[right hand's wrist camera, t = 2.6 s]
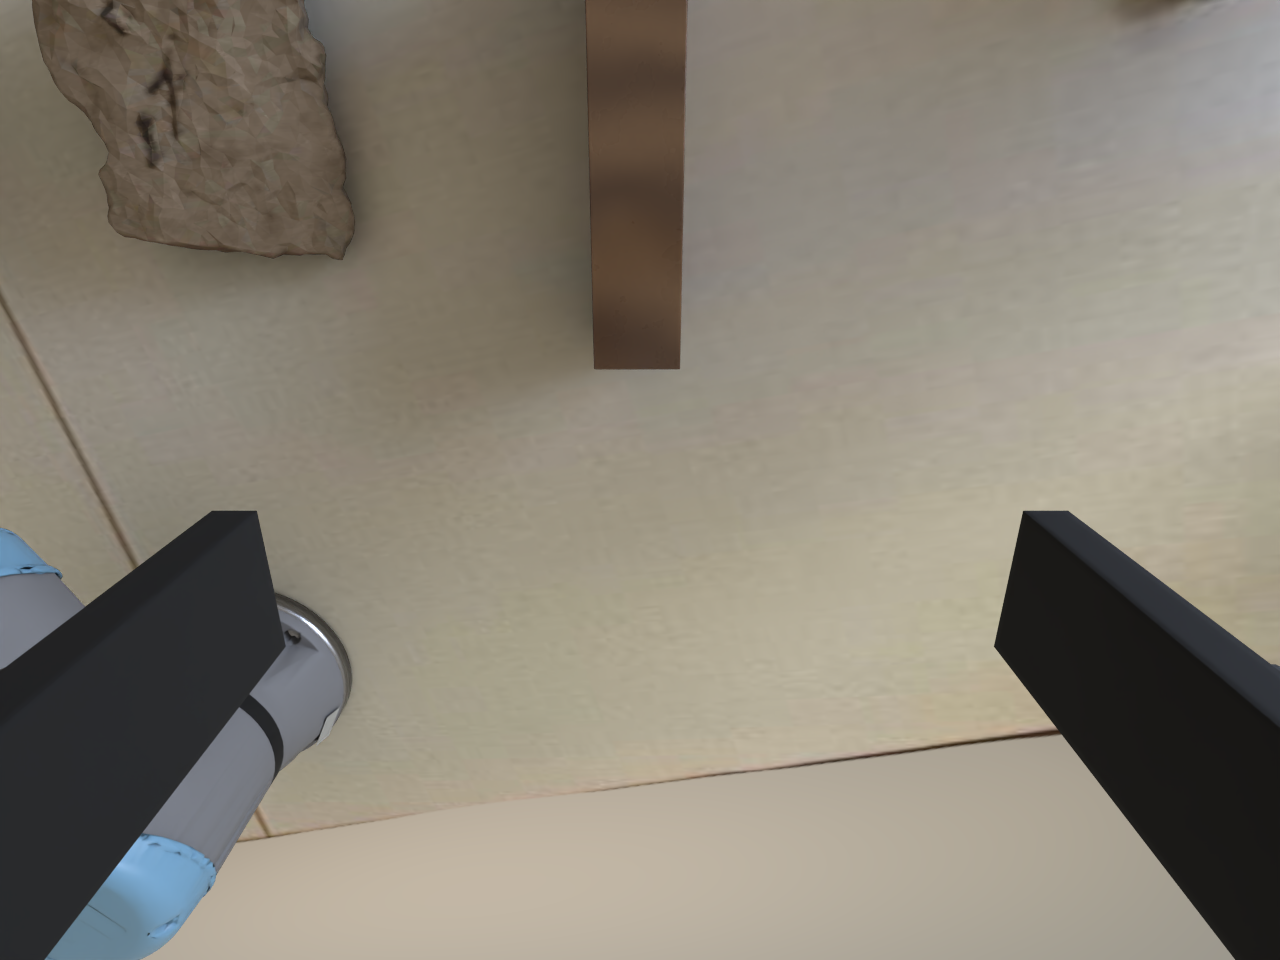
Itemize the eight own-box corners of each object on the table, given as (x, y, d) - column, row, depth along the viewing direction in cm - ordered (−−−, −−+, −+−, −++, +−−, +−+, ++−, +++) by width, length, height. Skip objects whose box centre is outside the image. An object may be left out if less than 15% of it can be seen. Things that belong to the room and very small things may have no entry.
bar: (673, 340, 51) (680, 369, 42) (601, 340, 51) (594, 369, 42) (681, -132, 41) (691, -212, 33) (591, -132, 41) (580, -212, 33)
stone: (5, -179, 37) (-63, -211, 32) (316, -145, 40) (298, -169, 35) (131, 242, 48) (95, 268, 43) (368, 243, 51) (360, 266, 46)
